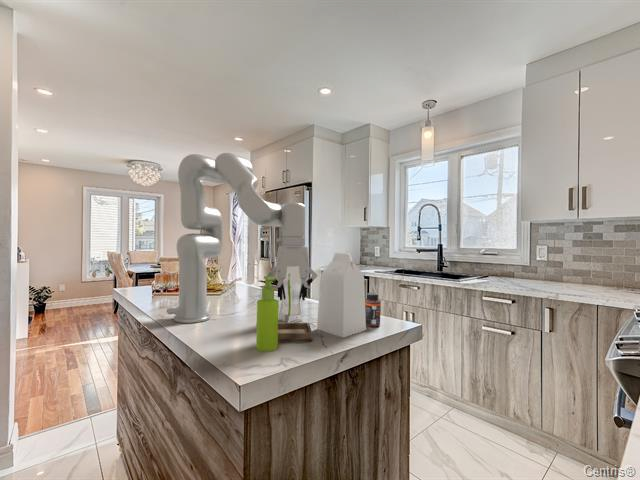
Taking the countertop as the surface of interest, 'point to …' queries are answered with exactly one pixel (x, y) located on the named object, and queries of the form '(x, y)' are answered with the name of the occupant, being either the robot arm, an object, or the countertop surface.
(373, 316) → the supplement bottle
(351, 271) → the milk
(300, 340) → the walnut tray
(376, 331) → the countertop surface
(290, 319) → the skyscraper
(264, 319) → the soap dispenser
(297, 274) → the beer glass
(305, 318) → the countertop surface
